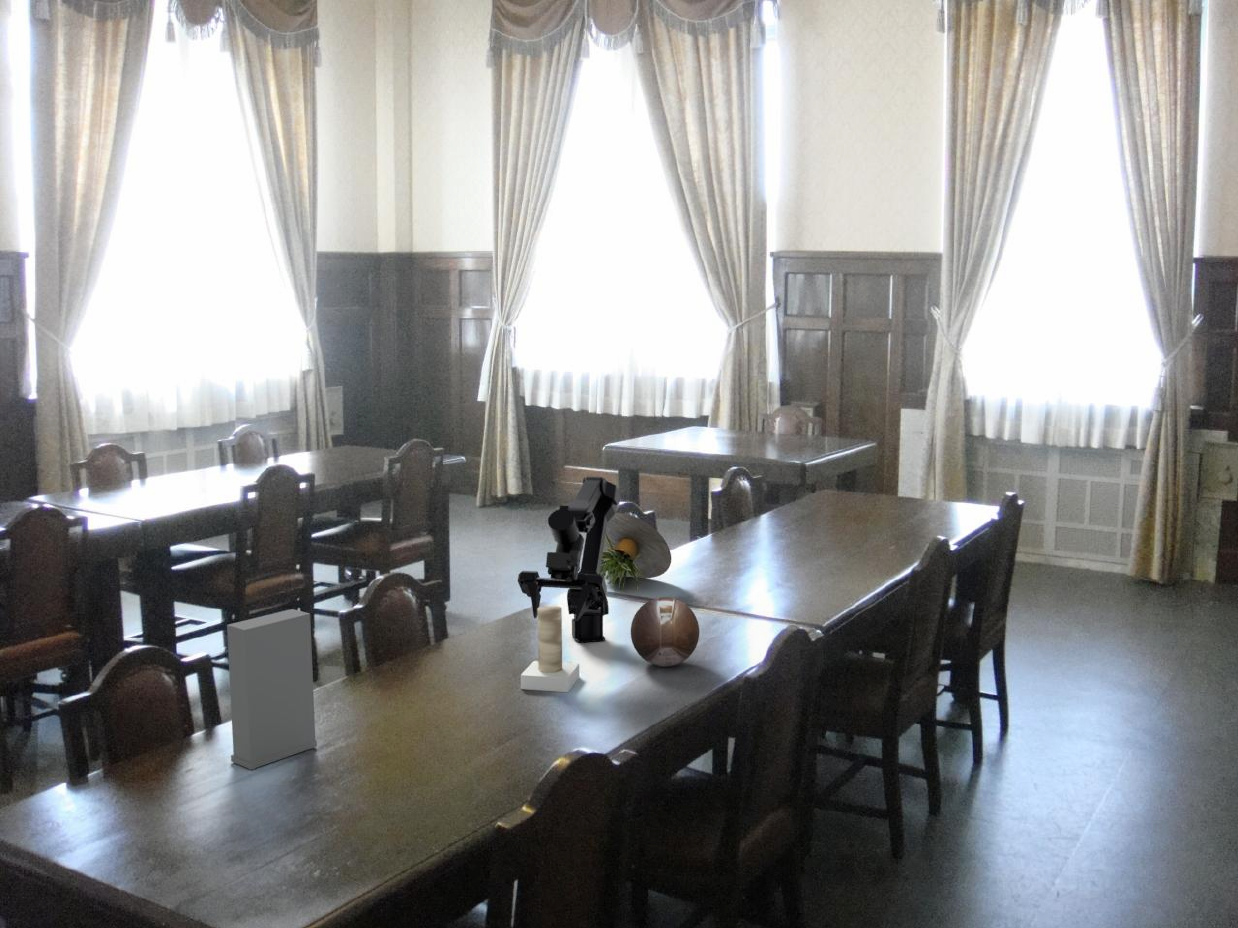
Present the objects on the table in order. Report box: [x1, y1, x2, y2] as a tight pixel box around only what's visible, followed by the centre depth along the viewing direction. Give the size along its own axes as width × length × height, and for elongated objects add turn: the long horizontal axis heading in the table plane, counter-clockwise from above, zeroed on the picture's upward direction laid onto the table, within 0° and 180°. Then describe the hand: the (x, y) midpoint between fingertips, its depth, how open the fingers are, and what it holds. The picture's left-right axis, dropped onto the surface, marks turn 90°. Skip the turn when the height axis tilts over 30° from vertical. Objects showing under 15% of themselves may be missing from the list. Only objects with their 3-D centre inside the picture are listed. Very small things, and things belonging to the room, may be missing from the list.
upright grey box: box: [226, 608, 318, 771], centre depth 219 cm, size 14×6×25 cm, turn 141°
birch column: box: [537, 605, 563, 673], centre depth 259 cm, size 5×5×13 cm
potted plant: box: [582, 511, 672, 592], centre depth 342 cm, size 25×18×25 cm
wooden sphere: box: [630, 596, 700, 668], centre depth 271 cm, size 15×15×15 cm
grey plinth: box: [520, 660, 580, 693], centre depth 260 cm, size 10×10×3 cm
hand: (555, 618), depth 263 cm, fingers open, 9 cm apart
